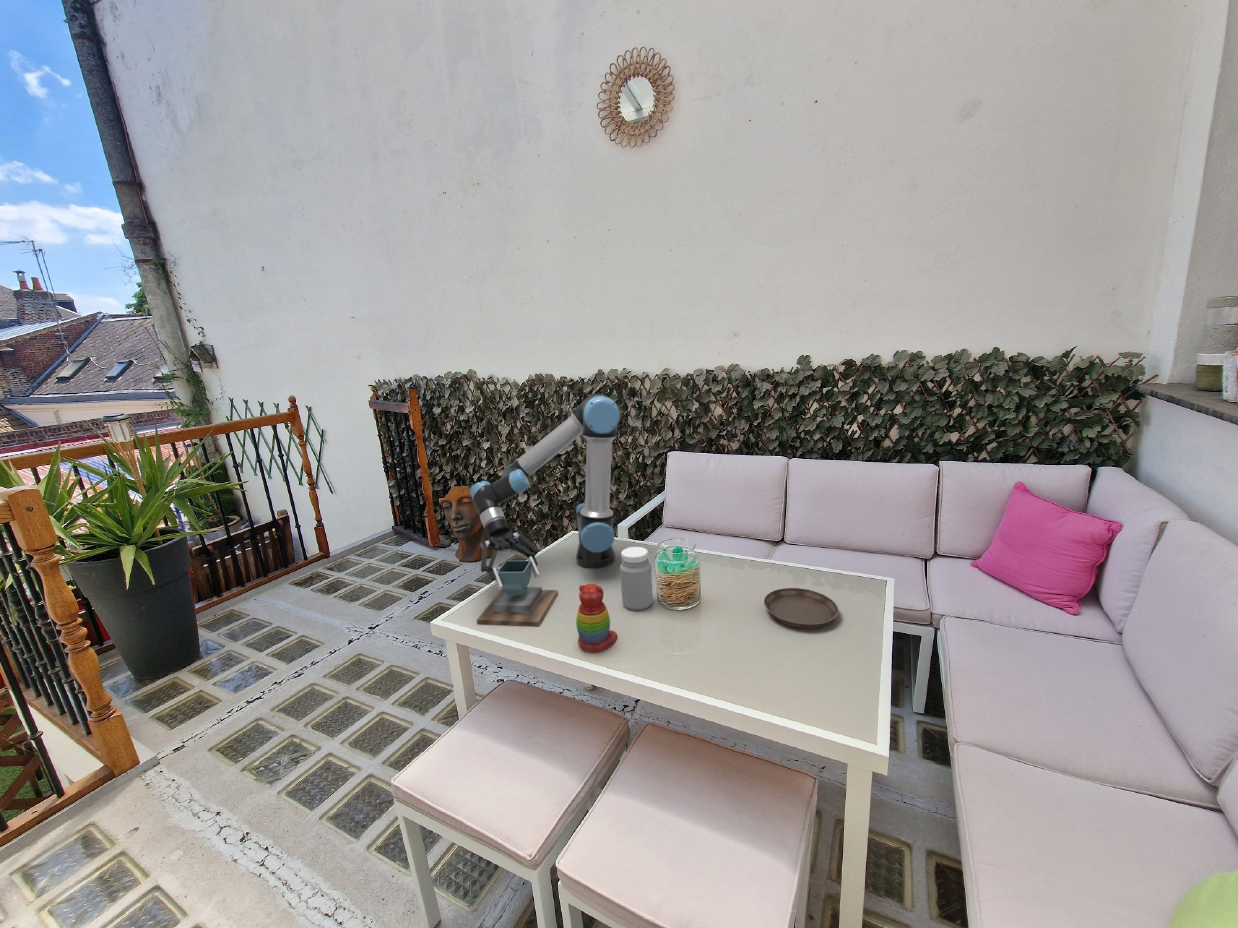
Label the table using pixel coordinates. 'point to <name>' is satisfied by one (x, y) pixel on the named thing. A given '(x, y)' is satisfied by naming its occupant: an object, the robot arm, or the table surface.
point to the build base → (518, 618)
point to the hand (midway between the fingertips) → (519, 581)
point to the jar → (636, 578)
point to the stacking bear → (593, 620)
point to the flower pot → (515, 576)
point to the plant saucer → (801, 607)
